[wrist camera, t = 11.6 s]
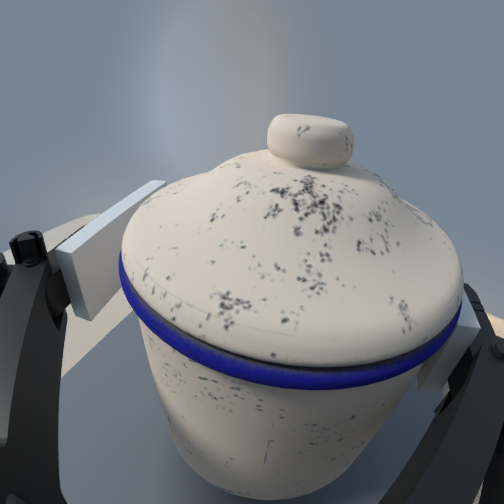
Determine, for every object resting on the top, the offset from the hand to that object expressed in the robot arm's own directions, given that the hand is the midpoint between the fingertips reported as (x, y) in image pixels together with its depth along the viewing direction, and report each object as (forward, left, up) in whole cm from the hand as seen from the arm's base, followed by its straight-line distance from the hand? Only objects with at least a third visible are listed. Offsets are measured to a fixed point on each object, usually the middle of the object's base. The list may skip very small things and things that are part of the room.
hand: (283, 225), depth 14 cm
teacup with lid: (0, +4, -7) cm, 8 cm away
